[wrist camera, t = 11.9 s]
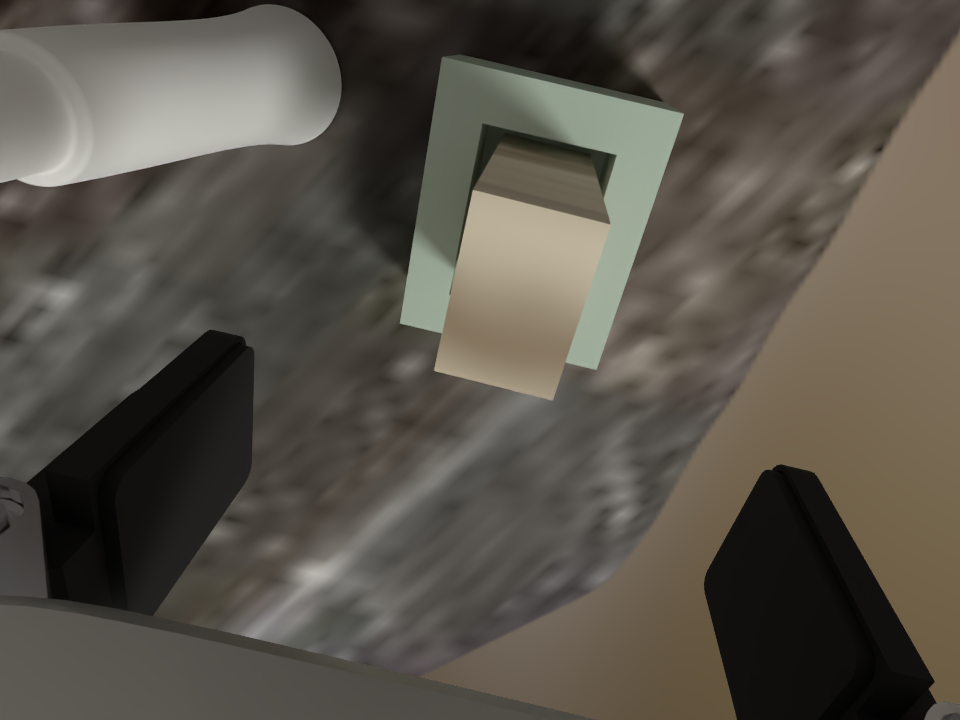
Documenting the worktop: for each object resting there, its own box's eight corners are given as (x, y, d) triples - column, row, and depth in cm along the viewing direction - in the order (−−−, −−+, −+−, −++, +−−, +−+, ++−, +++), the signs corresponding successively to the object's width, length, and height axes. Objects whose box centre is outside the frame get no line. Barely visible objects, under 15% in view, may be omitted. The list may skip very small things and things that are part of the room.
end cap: (460, 54, 28) (442, 56, 23) (663, 102, 28) (684, 113, 23) (420, 285, 33) (399, 323, 29) (591, 326, 33) (596, 369, 29)
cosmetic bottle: (319, 166, 31) (-81, 378, 12) (206, 108, 30) (-423, 229, 11) (361, 45, 28) (-72, 57, 9) (237, -22, 27) (-530, -171, 8)
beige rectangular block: (504, 132, 28) (472, 189, 17) (590, 154, 28) (611, 224, 17) (476, 256, 31) (434, 371, 20) (554, 276, 31) (552, 400, 20)
